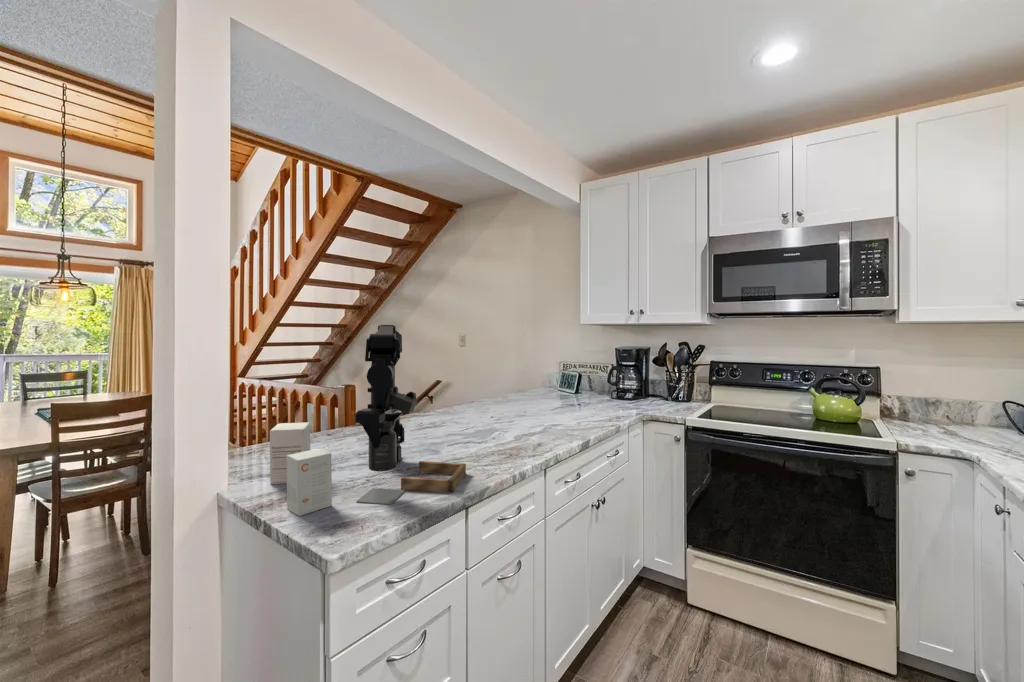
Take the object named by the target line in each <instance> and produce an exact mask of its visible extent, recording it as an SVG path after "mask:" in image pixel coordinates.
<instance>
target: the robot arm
mask: <svg viewBox="0 0 1024 682" xmlns="http://www.w3.org/2000/svg"><path fill="white" fill-rule="evenodd" d="M396 329H397V328H396V325H393V324H380V325H378V326H377V332H375V333H370V334H369V337H368V338H367V337H366V340H365V341H366V342H365V356H364V362H371V365H370V367H369V368H368V370H367V372H366V379H367V383H368V384H369V385H370V387H367V393H370V403H367V408H366V407H365V408H362V409H359V410H357V412H356V413H354V422H353V423H355V424H359V425H361V426H362V428H363V429H364V432H365V433H366V434H367V437H368V440H369V439H370V441H371V443H372V445H373V447H374V448H379V444H380V437H381V429H382V426H383V425H384V424H385V423H386V422H387V421H384V420H392V426H393V428H392V431H394V432H395V433H396V464H397V463H398V462H400V461H401V460H402V459H403V457H402V446H401V444H403V443H405V427H403V424H402V423H401V416H402V415H404V414H405V415H410V414H411V413H413V412H414V409H415V407H416V406H417V405H418V403H419V402H418V400H419V399H418V398H417V394H416V392H413V391H409V392H407V393H406V394H405V393H400V392H399V388H398V386H397V385H396V365H397V364H398V362H399V360H400V359H401V353H403V335H402V334H401V333H400V332H399V331H398V330H396ZM399 411H400V412H399Z"/></svg>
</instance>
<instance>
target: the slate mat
mask: <svg viewBox="0 0 1024 682" xmlns="http://www.w3.org/2000/svg"><path fill="white" fill-rule="evenodd" d="M405 492H406V490H402V489H398V488H397V489H393V488H379V487H378V488H377V487H376V488H375V487H372V488H371V489H369V490H368V491H367V492H366V493H365V494H364V495H362V496H361V497H360V498H359V499H358V500H356V503H358V504H359V503H361V504H372V505H373V504H374V505H375V504H376V505H387V506H389V505H390V506H392V505H393V504H394V503H395V502H396V501H397V500H398V499H399V498H400V497H401V496H402V495H403V494H404V493H405Z"/></svg>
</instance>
